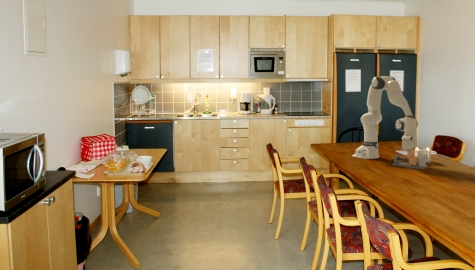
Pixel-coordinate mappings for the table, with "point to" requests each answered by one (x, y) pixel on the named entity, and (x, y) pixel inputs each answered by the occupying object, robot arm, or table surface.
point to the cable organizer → (423, 153)
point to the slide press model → (402, 164)
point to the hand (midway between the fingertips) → (409, 154)
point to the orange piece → (412, 157)
